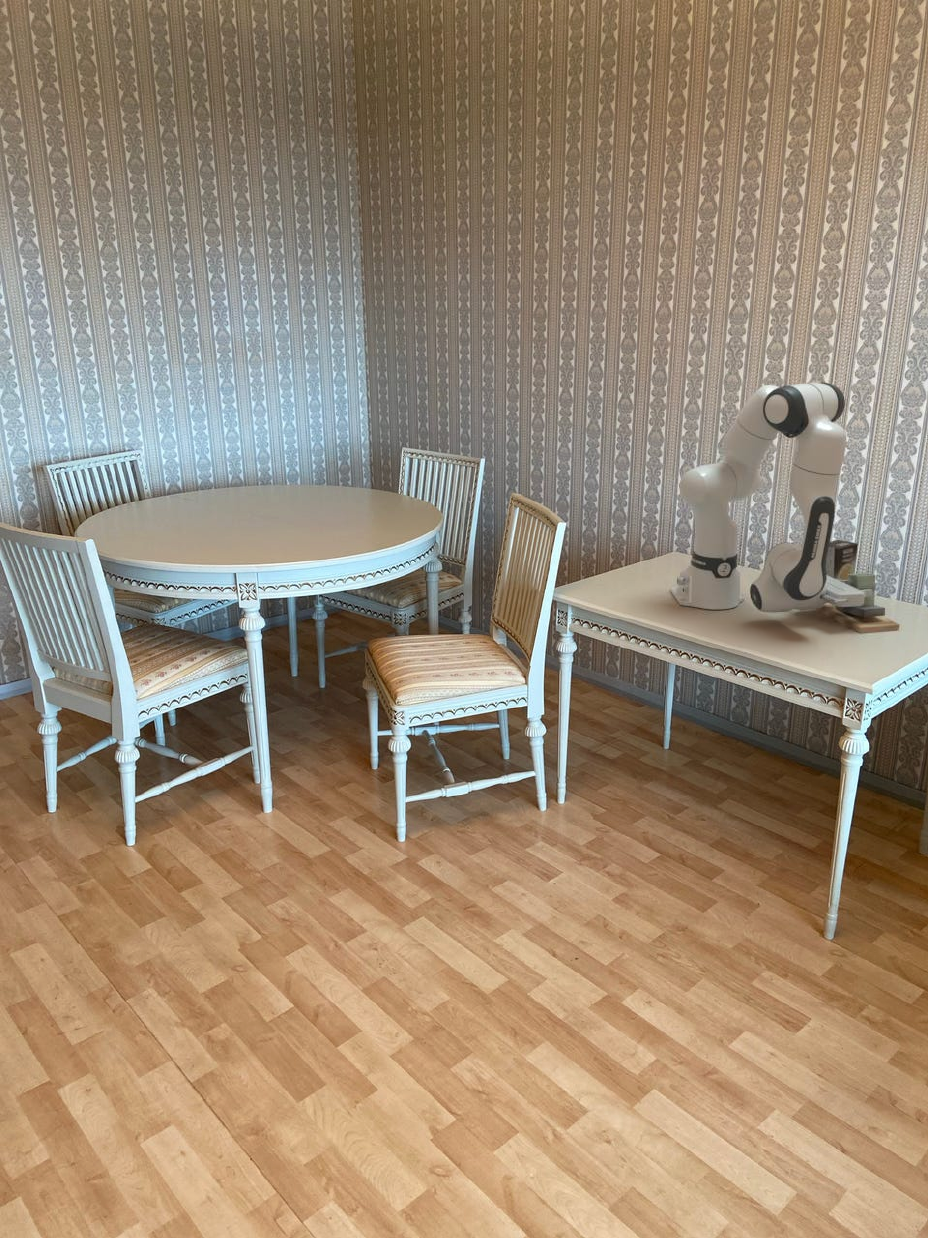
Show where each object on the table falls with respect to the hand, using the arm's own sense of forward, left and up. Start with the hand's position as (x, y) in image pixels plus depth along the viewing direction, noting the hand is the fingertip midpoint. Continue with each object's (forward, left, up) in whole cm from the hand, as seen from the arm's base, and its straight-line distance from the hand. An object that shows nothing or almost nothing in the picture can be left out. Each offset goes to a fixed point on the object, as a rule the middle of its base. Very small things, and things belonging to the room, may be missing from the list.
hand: (861, 587), depth 256 cm
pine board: (+1, -1, -8) cm, 8 cm away
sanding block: (+2, -1, -6) cm, 6 cm away
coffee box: (-17, +3, -9) cm, 19 cm away
